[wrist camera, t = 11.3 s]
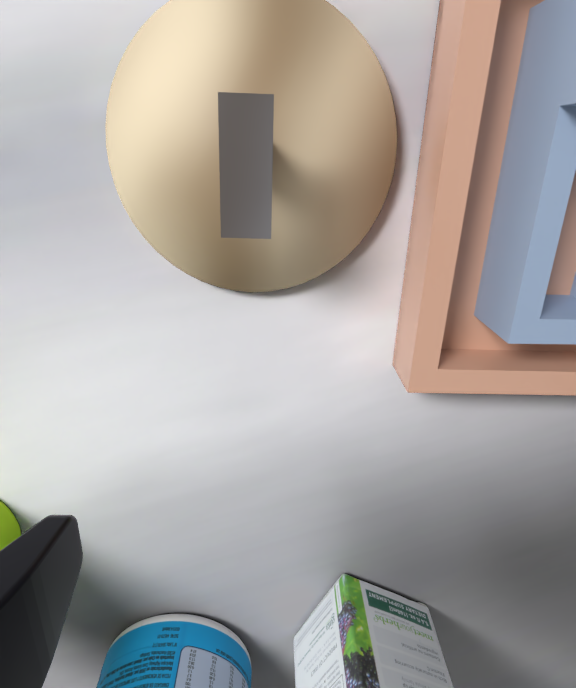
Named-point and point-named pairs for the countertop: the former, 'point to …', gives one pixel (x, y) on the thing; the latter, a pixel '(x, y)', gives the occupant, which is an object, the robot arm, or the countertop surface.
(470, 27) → the tray
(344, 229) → the pot lid
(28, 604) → the robot arm
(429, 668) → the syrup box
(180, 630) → the blue lidded jar
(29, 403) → the countertop surface
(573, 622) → the countertop surface
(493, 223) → the blue open frame block
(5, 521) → the soap dispenser
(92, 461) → the countertop surface
